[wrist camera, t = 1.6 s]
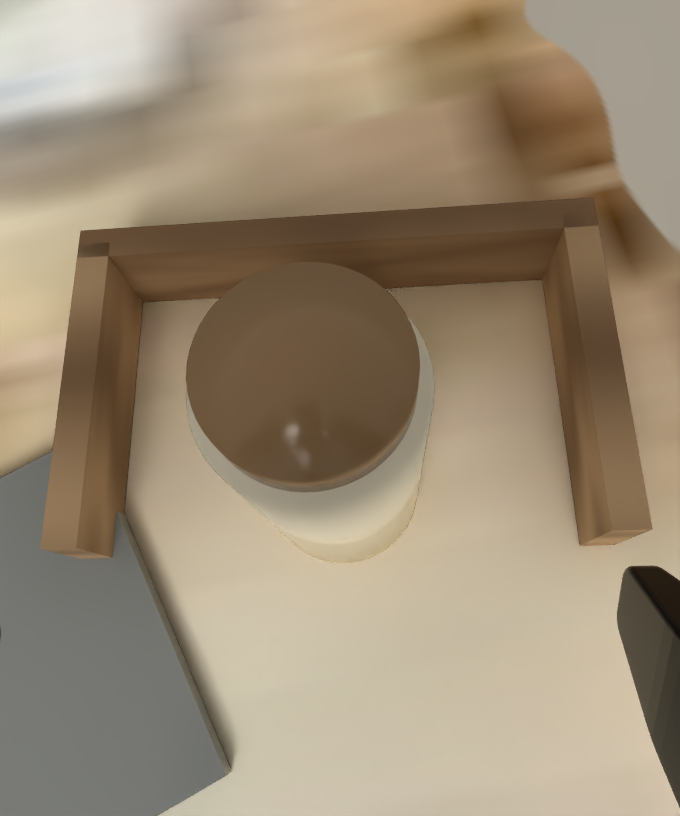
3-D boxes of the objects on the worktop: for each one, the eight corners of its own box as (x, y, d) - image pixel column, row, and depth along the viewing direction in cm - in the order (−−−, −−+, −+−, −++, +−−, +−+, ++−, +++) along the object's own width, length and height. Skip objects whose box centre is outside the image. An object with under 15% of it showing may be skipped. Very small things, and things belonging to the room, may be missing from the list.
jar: (444, 516, 20) (491, 412, 11) (312, 591, 20) (238, 550, 10) (371, 394, 21) (355, 207, 12) (247, 461, 21) (129, 321, 12)
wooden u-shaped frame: (614, 544, 19) (652, 529, 16) (88, 560, 20) (39, 549, 18) (568, 252, 23) (593, 197, 20) (118, 279, 24) (80, 230, 21)
